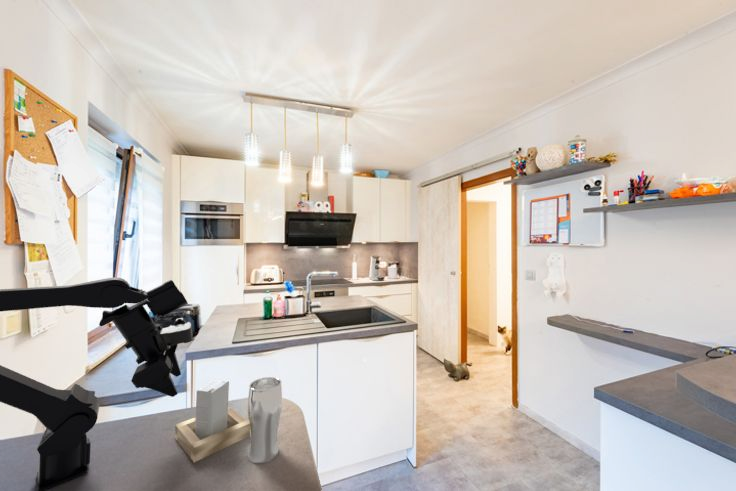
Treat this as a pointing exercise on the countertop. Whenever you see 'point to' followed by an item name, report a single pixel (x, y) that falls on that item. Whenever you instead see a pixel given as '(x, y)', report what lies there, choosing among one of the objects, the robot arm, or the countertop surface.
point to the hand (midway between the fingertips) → (177, 384)
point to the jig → (215, 442)
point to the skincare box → (212, 408)
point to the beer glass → (264, 418)
